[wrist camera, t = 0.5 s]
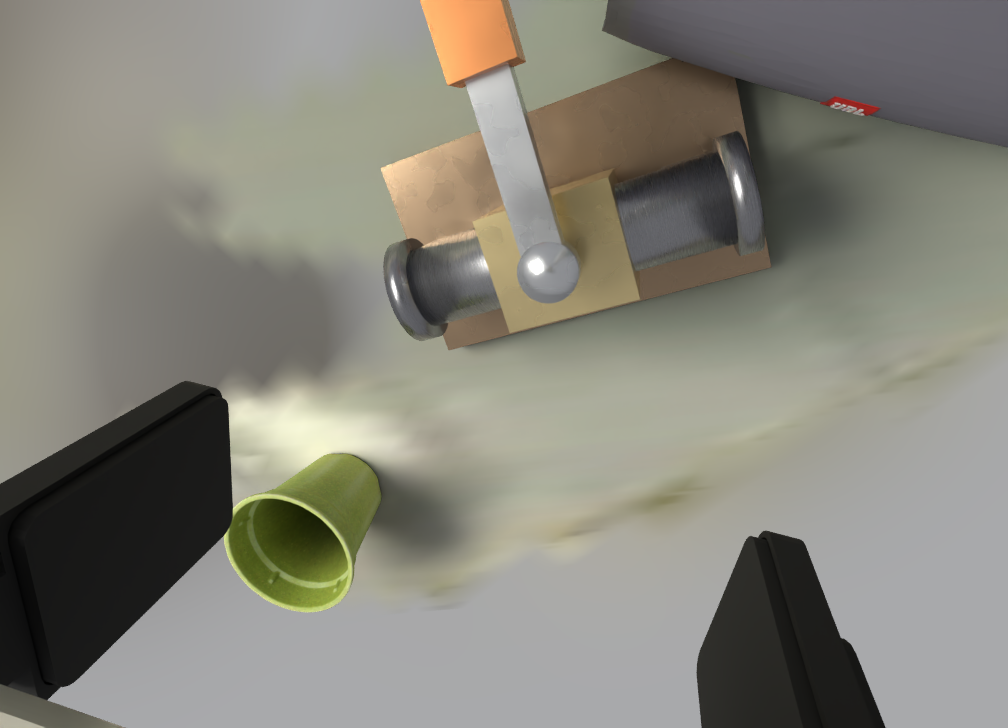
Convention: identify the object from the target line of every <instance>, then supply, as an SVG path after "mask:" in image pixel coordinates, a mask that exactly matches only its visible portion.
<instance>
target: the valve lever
mask: <svg viewBox="0 0 1008 728" xmlns="http://www.w3.org/2000/svg"><path fill="white" fill-rule="evenodd" d="M420 2H421V5H422V8H423V11H424V14H425V17H426V20H427V23H428V26H429V29H430V32H431V35H432V38H433V41H434V44H435V48H436V51H437V54H438V57H439V60H440V63H441V66H442V69H443V72H444V75H445V78H446V81H447V84H448V85H450V86H454V87H458V88H463V87H465V86H466V87H467V90H468V93H469V96H470V99H471V102H472V106H473V109H474V112H475V115H476V118H477V121H478V124H479V128H480V131H481V134H482V137H483V140H484V143H485V146H486V150H487V153H488V156H489V159H490V162H491V165H492V168H493V171H494V175H495V178H496V181H497V184H498V187H499V190H500V193H501V197H502V200H503V203H504V206H505V209H506V212H507V215H508V219H509V222H510V225H511V228H512V231H513V234H514V237H515V241H516V244H517V247H518V250H519V253H520V256H521V258H520V260H519V262H518V266H517V278H518V282H519V285H520V287H521V288H522V290H523V291H524V293H525V294H526V295H527V296H529V297H530V298H531V299H533V300H535V301H537V302H540V303H548V304H549V303H556V302H559V301H562V300H564V299H565V298H567V297H568V296H569V295H570V294H571V293H572V292H573V290H574V289H575V287H576V285H577V282H578V280H579V277H580V274H581V261H580V257H579V255H578V253H577V251H576V250H575V248H574V247H573V246H572V245H571V244H570V243H568V242H567V241H565V240H564V237H563V233H562V230H561V227H560V223H559V220H558V216H557V213H556V209H555V206H554V203H553V199H552V196H551V192H550V189H549V186H548V182H547V179H546V175H545V172H544V169H543V165H542V162H541V158H540V155H539V152H538V148H537V145H536V141H535V138H534V134H533V131H532V128H531V124H530V121H529V117H528V114H527V111H526V107H525V104H524V100H523V97H522V94H521V90H520V87H519V83H518V80H517V77H516V73H515V70H514V66H517V65H519V64H522V63H524V62H526V60H525V57H524V53H523V50H522V46H521V43H520V39H519V36H518V32H517V29H516V25H515V22H514V18H513V15H512V11H511V8H510V4H509V1H508V0H420Z"/></svg>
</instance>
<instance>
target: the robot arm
mask: <svg viewBox="0 0 1008 728" xmlns="http://www.w3.org/2000/svg"><path fill="white" fill-rule="evenodd" d="M232 519H233V502H232V480H231V457H230V435H229V412H228V403H227V401H226V400H225V399H223V398H222V395H221V393H220V391H219V390H218V389H216V388H213V387H209V386H205V385H201V384H198V383H194V382H189V381H184V382H181V383H179V384H177V385H176V386H174V387H172V388H170V389H168V390H167V391H165V392H163V393H161V394H160V395H158V396H156V397H154V398H152V399H151V400H149V401H147V402H145V403H144V404H142V405H140V406H138V407H136V408H135V409H133V410H131V411H129V412H128V413H126V414H124V415H122V416H120V417H119V418H117V419H115V420H113V421H112V422H110V423H108V424H106V425H104V426H103V427H101V428H99V429H97V430H95V431H94V432H92V433H90V434H88V435H87V436H85V437H83V438H81V439H79V440H78V441H76V442H74V443H73V444H71V445H69V446H67V447H65V448H63V449H62V450H60V451H58V452H56V453H55V454H53V455H51V456H49V457H47V458H46V459H44V460H42V461H40V462H39V463H37V464H35V465H33V466H32V467H30V468H28V469H26V470H24V471H23V472H21V473H19V474H17V475H15V476H14V477H12V478H10V479H8V480H7V481H5V482H3V483H1V484H0V728H125V727H122V726H119V725H116V724H113V723H110V722H107V721H104V720H102V719H99V718H96V717H93V716H90V715H87V714H85V713H82V712H79V711H76V710H73V709H70V708H67V707H64V706H61V705H59V704H56V703H53V702H50V701H47V700H48V699H49V698H50V697H51V696H52V695H53V694H54V693H55V692H56V691H57V690H58V689H59V688H60V687H65V686H68V685H70V684H72V683H74V682H75V681H76V680H77V679H78V678H79V677H80V676H81V675H83V674H84V673H85V671H87V670H88V669H89V668H90V667H91V666H92V665H93V663H95V662H96V661H97V660H98V659H99V658H100V657H101V656H102V655H103V654H104V653H105V652H106V651H107V650H108V649H109V648H110V647H111V646H112V645H113V644H114V643H115V642H116V641H117V640H118V639H119V638H120V637H121V636H122V635H123V634H124V633H125V632H126V631H127V630H128V629H129V628H130V627H131V626H132V625H133V624H134V623H135V622H136V621H137V620H138V619H139V618H140V617H142V616H143V614H145V613H146V612H147V610H149V609H150V608H151V607H152V606H153V605H154V604H155V603H156V602H157V601H158V600H159V599H160V598H161V597H162V596H163V595H164V594H165V593H166V592H167V591H168V590H169V589H170V588H171V587H172V586H173V585H174V584H175V583H176V582H177V581H178V580H179V579H180V578H181V577H182V576H183V575H184V574H185V573H186V572H187V571H188V570H189V569H190V568H191V567H192V566H193V565H194V564H195V563H196V562H197V561H198V560H199V559H201V558H202V556H203V555H205V554H206V552H207V551H209V549H211V548H212V547H213V546H214V545H215V544H216V543H217V542H218V541H219V540H220V539H221V538H222V537H223V536H224V535H225V534H226V532H227V531H228V529H229V527H230V525H231V523H232ZM697 683H698V693H699V704H700V715H701V726H702V728H885V725H884V723H883V720H882V718H881V715H880V713H879V710H878V708H877V705H876V702H875V700H874V698H873V695H872V693H871V690H870V687H869V685H868V683H867V680H866V678H865V675H864V672H863V670H862V667H861V665H860V663H859V660H858V658H857V655H856V653H855V651H854V649H853V647H852V645H851V644H850V643H849V642H847V641H846V640H845V639H842V638H840V635H839V632H838V630H837V627H836V624H835V622H834V619H833V617H832V614H831V611H830V609H829V606H828V603H827V601H826V598H825V595H824V593H823V590H822V588H821V585H820V582H819V580H818V577H817V575H816V572H815V569H814V567H813V564H812V561H811V559H810V556H809V553H808V551H807V548H806V546H805V544H804V542H803V541H802V540H800V539H796V538H792V537H789V536H785V535H781V534H777V533H773V532H769V531H763V532H762V533H761V534H760V535H759V537H758V538H756V537H752V536H749V537H748V538H747V539H746V541H745V543H744V546H743V548H742V550H741V553H740V555H739V558H738V560H737V562H736V565H735V568H734V570H733V572H732V574H731V577H730V579H729V582H728V584H727V587H726V589H725V591H724V594H723V596H722V599H721V601H720V603H719V606H718V608H717V611H716V613H715V616H714V618H713V620H712V623H711V625H710V628H709V630H708V632H707V635H706V637H705V640H704V642H703V645H702V647H701V650H700V653H699V656H698V662H697Z"/></svg>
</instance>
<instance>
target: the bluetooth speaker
mask: <svg viewBox="0 0 1008 728" xmlns="http://www.w3.org/2000/svg"><path fill="white" fill-rule="evenodd" d="M602 31H604V32H607V33H609V34H611V35H613V36H616V37H618V38H620V39H622V40H625V41H627V42H630V43H632V44H634V45H637V46H640V47H642V48H645V49H648V50H650V51H653V52H656V53H659V54H662V55H665V56H669V57H672V58H675V59H678V60H681V61H684V62H687V63H691V64H694V65H697V66H700V67H703V68H706V69H710V70H713V71H716V72H719V73H722V74H725V75H729V76H732V77H735V78H738V79H742V80H745V81H748V82H752V83H755V84H759V85H762V86H765V87H769V88H772V89H775V90H779V91H782V92H786V93H789V94H793V95H796V96H800V97H804V98H807V99H811V100H815V101H818V102H820V104H823V105H827V106H830V107H831V108H834V109H841V111H845V112H850V113H851V112H853V114H856V115H860V116H863V115H866V116H868V115H871V116H875V117H879V118H883V119H887V120H890V121H895V122H899V123H903V124H907V125H912V126H916V127H920V128H924V129H928V130H933V131H937V132H941V133H945V134H950V135H954V136H959V137H963V138H968V139H972V140H977V141H981V142H986V143H990V144H995V145H999V146H1004V147H1008V0H608V5H607V12H606V19H605V20H604V24H603V28H602Z"/></svg>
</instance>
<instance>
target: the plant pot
mask: <svg viewBox="0 0 1008 728" xmlns="http://www.w3.org/2000/svg"><path fill="white" fill-rule="evenodd" d="M381 496H382V495H381V492H380V488H379V483H378V478H377V476H376V475H375V473H374V472H373V470H372V469H371V468H370V467H369V466H368V465H367V464H366V463H364V462H363V461H362V460H360V459H358V458H356V457H354V456H352V455H349V454H327V455H325V456H323V457H321V458H319V459H318V460H316V461H315V462H313V463H312V464H311V465H309V466H308V467H306V468H305V469H303V470H302V471H301V472H299V473H298V474H296V475H295V476H293V477H292V478H290V479H289V480H288V481H286V482H285V483H283V484H282V485H280V486H279V487H277V488H276V489H273V490H270V491H267V492H265V493H259V494H255V495H252V496H250V497H247V498H246V499H244V500H242V501H241V502H240V503H238V504H237V505H236V506H235V507H234V508H233V519H232V523H231V525H230V527H229V529H228V531H227V532H226V534H225V535H224V543H225V548H226V551H227V555H228V558H229V560H230V562H231V564H232V566H233V568H234V569H235V571H236V572H237V573H238V575H239V576H240V577H241V579H242V580H243V581H244V582H245V583H246V584H247V585H248V586H249V587H250V588H251V589H252V590H253V591H254V592H256V593H257V594H258V595H260V596H261V597H262V598H264V599H265V600H267V601H269V602H271V603H273V604H275V605H277V606H280V607H282V608H286V609H289V610H293V611H299V612H317V611H323V610H326V609H329V608H331V607H333V606H335V605H336V604H338V603H339V602H340V601H341V600H342V599H343V598H344V597H345V596H346V594H347V593H348V591H349V589H350V587H351V585H352V582H353V577H354V564H355V561H356V554H357V552H358V550H359V548H360V545H361V543H362V541H363V539H364V537H365V535H366V532H367V530H368V528H369V526H370V524H371V522H372V520H373V518H374V515H375V513H376V511H377V509H378V507H379V505H380V502H381Z"/></svg>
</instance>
